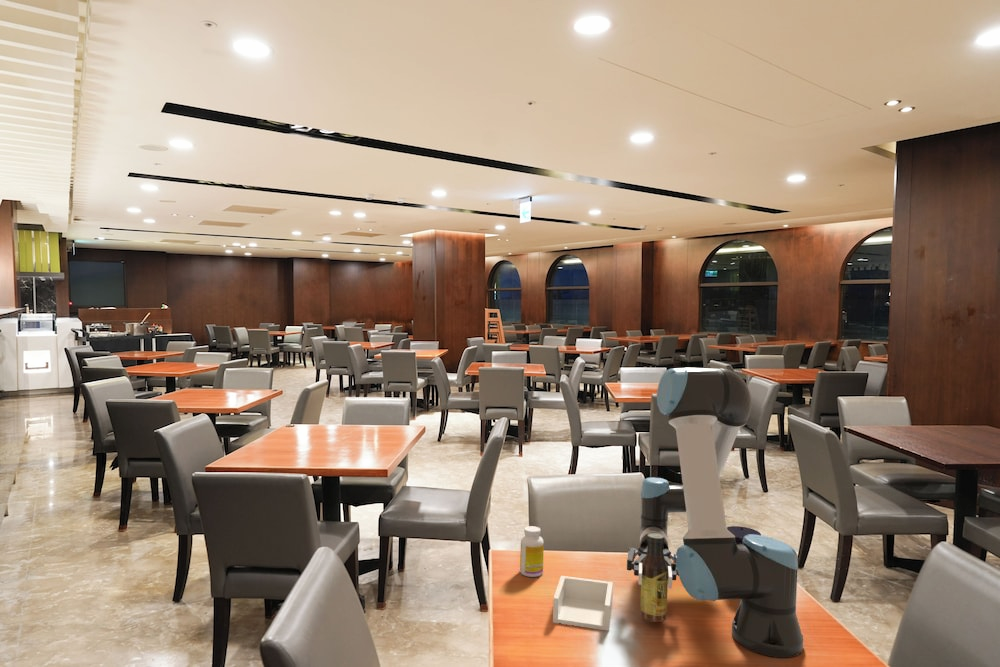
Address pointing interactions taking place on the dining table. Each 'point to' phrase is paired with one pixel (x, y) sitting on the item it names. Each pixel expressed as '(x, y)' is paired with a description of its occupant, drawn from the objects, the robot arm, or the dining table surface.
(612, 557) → the dining table surface
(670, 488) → the robot arm
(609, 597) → the bottle stand
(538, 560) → the supplement bottle
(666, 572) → the sauce bottle
